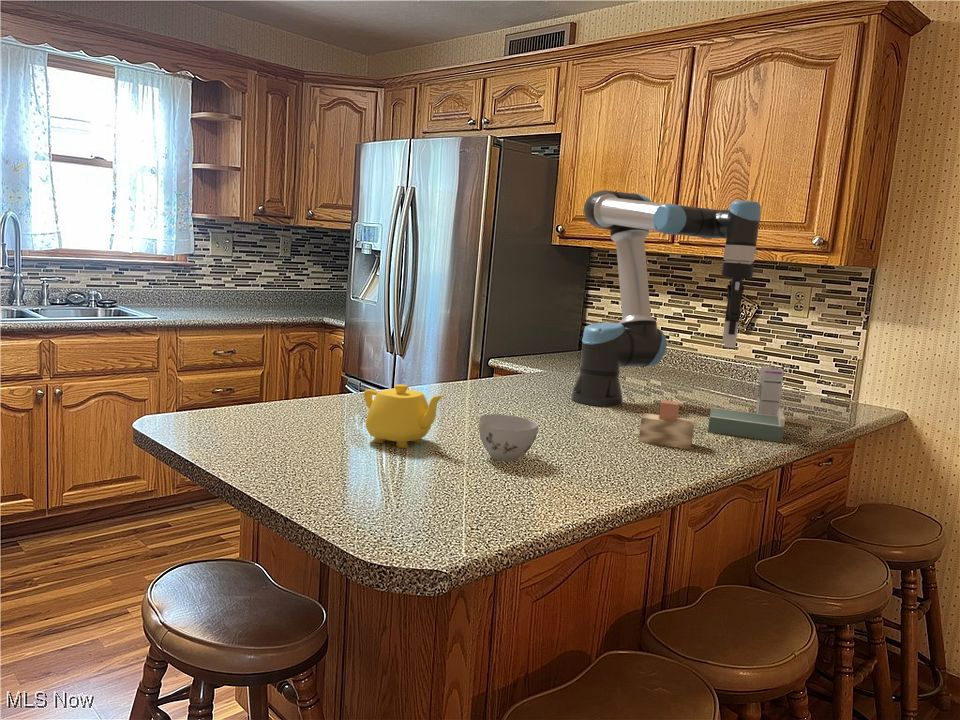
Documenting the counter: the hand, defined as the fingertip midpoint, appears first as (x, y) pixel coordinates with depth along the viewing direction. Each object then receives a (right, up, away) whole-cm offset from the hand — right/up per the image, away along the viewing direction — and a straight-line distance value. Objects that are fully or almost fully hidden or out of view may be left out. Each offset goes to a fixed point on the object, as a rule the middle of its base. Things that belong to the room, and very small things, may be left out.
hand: (728, 344), depth 196 cm
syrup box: (+20, -21, +27) cm, 40 cm away
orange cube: (-20, -18, -16) cm, 31 cm away
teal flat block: (+5, -23, +3) cm, 24 cm away
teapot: (-82, -22, -33) cm, 91 cm away
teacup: (-59, -24, -38) cm, 74 cm away
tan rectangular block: (-20, -24, -15) cm, 35 cm away
